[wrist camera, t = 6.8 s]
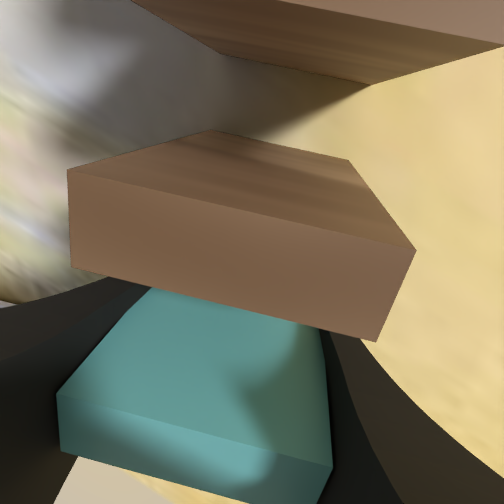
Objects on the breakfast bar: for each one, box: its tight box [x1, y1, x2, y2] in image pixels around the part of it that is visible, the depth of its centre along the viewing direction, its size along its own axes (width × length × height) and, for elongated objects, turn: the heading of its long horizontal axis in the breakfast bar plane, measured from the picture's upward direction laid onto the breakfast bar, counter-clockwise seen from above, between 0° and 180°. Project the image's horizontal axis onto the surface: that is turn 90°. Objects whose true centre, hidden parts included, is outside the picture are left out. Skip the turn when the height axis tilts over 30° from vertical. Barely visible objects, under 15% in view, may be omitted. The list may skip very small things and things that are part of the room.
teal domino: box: [56, 287, 333, 504], centre depth 10 cm, size 2×5×8 cm, turn 79°
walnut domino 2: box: [67, 130, 417, 342], centre depth 9 cm, size 2×5×8 cm, turn 79°
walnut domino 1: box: [131, 0, 504, 85], centre depth 7 cm, size 2×5×8 cm, turn 79°
